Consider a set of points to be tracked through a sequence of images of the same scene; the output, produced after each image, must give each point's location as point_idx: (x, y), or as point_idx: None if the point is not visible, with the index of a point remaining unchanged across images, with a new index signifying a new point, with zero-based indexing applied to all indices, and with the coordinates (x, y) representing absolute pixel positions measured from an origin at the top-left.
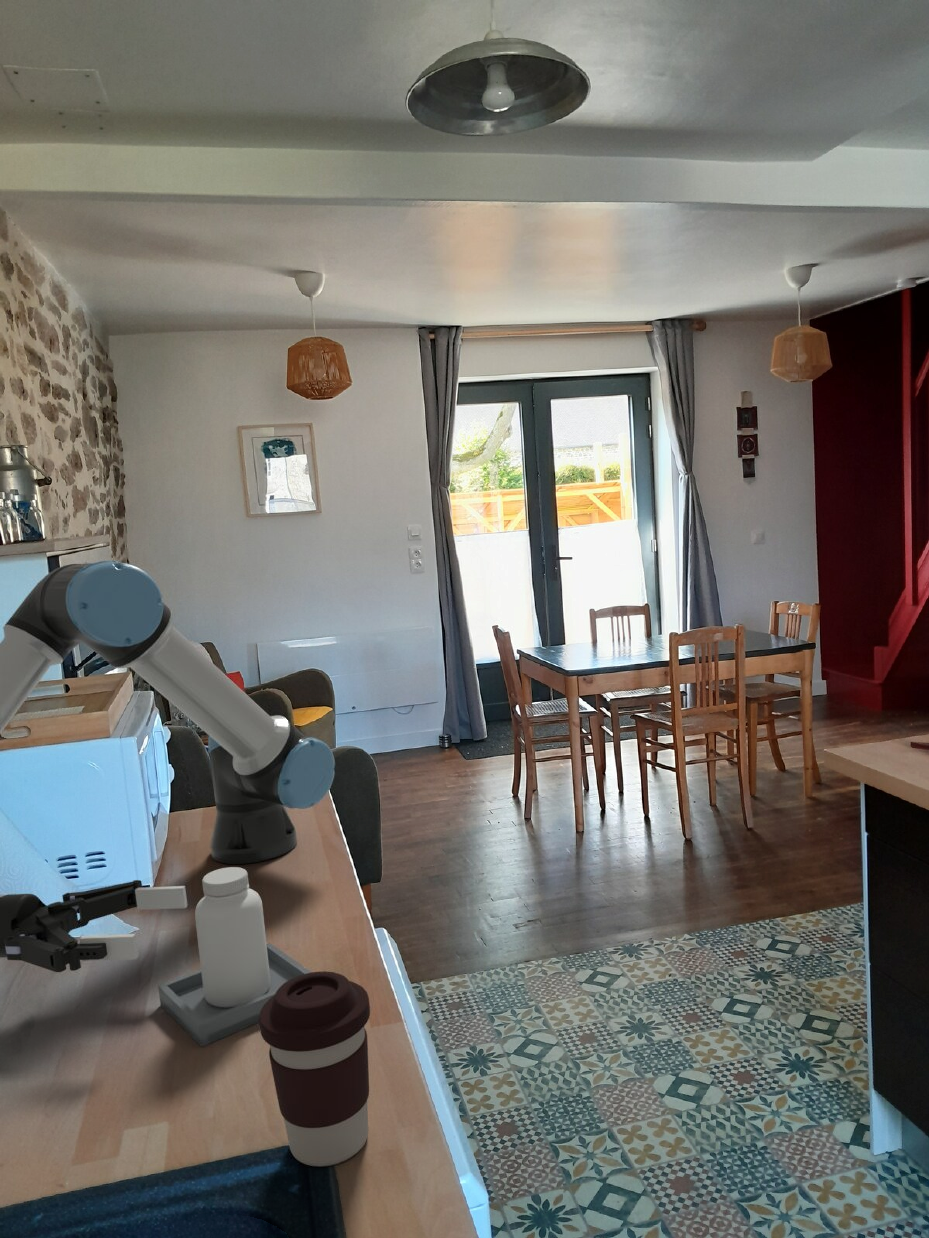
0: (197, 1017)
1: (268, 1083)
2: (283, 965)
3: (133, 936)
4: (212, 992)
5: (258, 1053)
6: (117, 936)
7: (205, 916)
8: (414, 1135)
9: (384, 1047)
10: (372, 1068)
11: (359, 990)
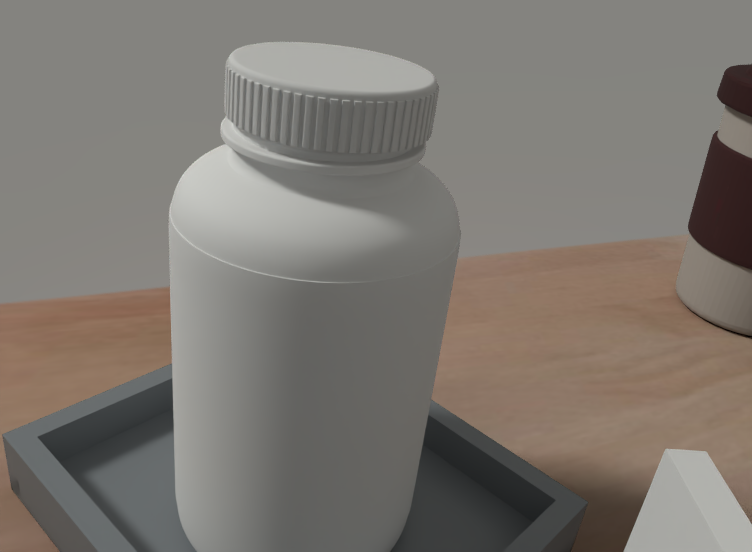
0: (542, 521)
1: (647, 390)
2: (158, 405)
3: (697, 452)
4: (410, 499)
5: (556, 423)
6: (749, 539)
7: (453, 232)
8: (670, 248)
9: (486, 271)
10: (548, 280)
11: (748, 66)
